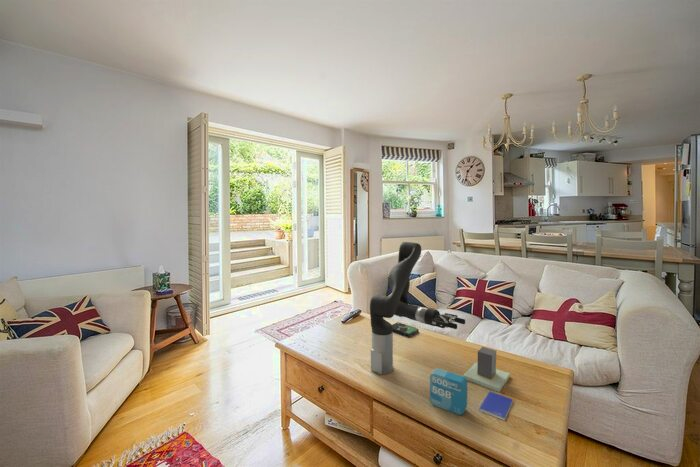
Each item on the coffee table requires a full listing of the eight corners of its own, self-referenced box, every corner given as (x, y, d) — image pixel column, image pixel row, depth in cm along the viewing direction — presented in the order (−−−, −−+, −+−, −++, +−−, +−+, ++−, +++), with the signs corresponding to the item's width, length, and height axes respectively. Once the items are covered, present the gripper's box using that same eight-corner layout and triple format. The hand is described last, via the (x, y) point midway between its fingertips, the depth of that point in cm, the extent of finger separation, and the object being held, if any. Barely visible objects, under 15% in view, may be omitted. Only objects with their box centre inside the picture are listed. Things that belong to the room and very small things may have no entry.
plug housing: (491, 379, 121) (492, 355, 120) (477, 374, 125) (477, 351, 124) (495, 373, 125) (496, 350, 125) (482, 369, 129) (482, 346, 128)
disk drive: (387, 331, 175) (409, 338, 165) (387, 327, 175) (409, 333, 165) (397, 326, 183) (418, 332, 173) (397, 321, 183) (418, 328, 172)
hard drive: (504, 417, 100) (512, 399, 110) (479, 407, 105) (489, 390, 115) (504, 422, 100) (512, 403, 110) (478, 411, 105) (488, 394, 115)
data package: (429, 403, 109) (429, 372, 108) (434, 397, 113) (434, 366, 112) (463, 416, 102) (463, 383, 101) (467, 409, 106) (467, 377, 105)
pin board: (499, 392, 115) (499, 383, 115) (463, 378, 125) (463, 370, 125) (509, 376, 126) (509, 368, 125) (475, 365, 135) (475, 357, 135)
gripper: (419, 311, 137) (454, 319, 126) (434, 305, 147) (467, 312, 136) (419, 327, 137) (454, 337, 126) (434, 320, 147) (467, 328, 136)
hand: (461, 324), depth 131 cm, fingers open, 8 cm apart
